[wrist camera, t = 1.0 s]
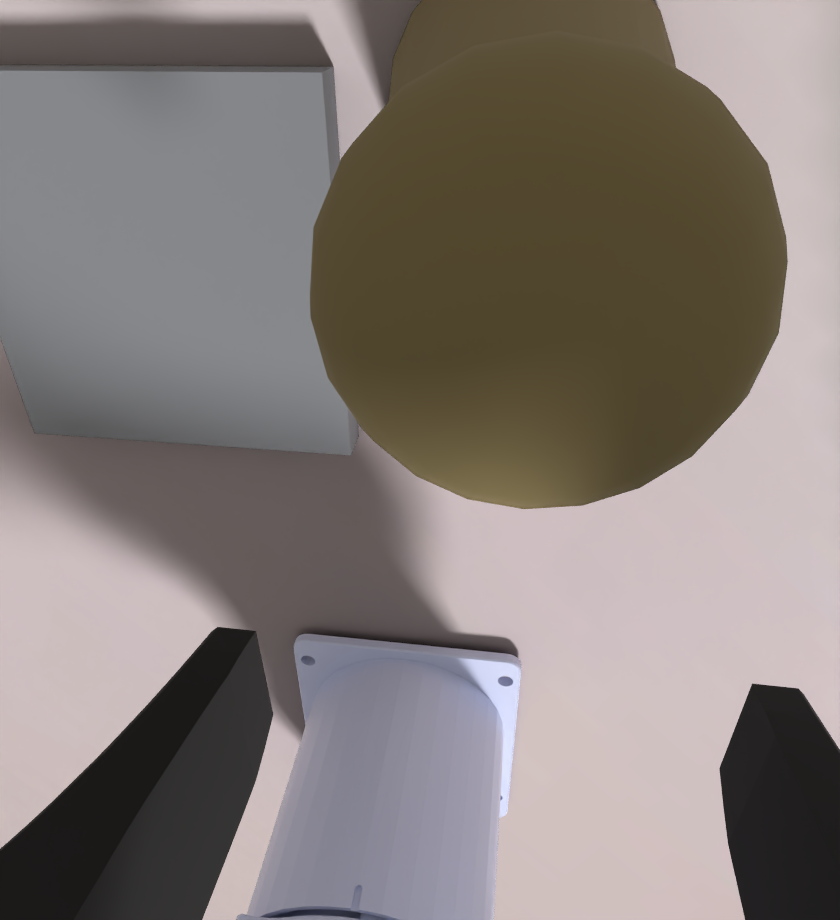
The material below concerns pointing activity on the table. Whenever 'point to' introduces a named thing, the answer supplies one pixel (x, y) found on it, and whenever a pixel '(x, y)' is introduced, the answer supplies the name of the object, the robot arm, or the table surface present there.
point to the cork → (545, 255)
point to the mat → (168, 252)
